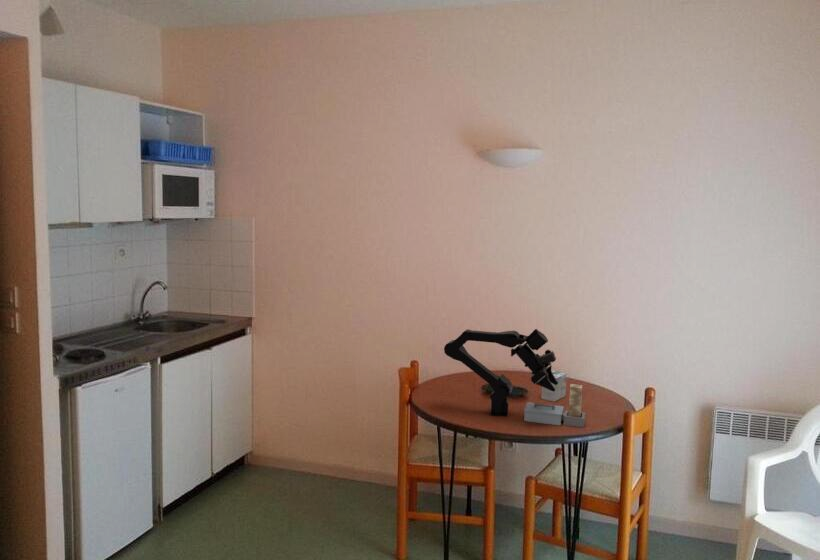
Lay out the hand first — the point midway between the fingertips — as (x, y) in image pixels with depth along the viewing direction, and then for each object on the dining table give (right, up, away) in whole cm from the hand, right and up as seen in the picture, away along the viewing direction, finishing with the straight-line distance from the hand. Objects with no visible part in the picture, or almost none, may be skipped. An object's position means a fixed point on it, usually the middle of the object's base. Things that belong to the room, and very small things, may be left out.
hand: (555, 387), depth 258 cm
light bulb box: (+6, -10, +31) cm, 33 cm away
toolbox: (0, -13, +2) cm, 13 cm away
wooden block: (+7, -14, -1) cm, 16 cm away
